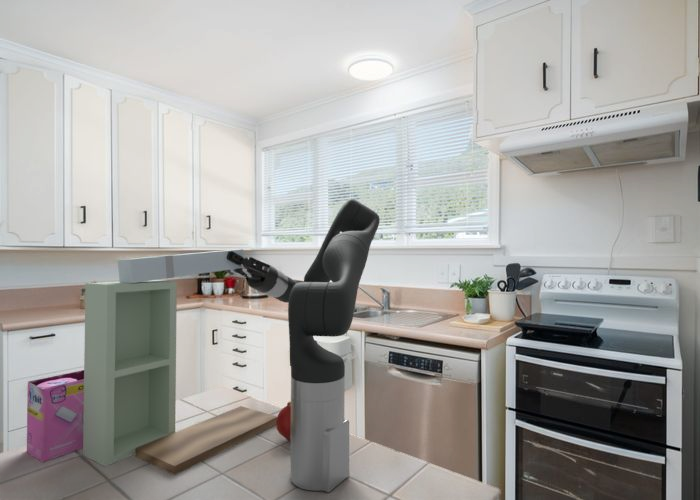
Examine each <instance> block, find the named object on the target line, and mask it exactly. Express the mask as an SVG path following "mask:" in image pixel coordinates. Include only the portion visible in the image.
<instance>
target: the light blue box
mask: <svg viewBox="0 0 700 500" xmlns="http://www.w3.org/2000/svg"><path fill="white" fill-rule="evenodd" d="M229 251H233V252H235V253H237V254H238V255H240V256H244V249H243V248H241V249H240V248H239V249H228V250H227V249H226V250H225V249H224V250H216V251H212V250H211V251H203V252H201V251H200V252H191V253H180V254H168V255H167V254H166V255H153V256H146V257H136V258H122V259H117V265H118V266H117V268H118V282H120V283H137V282H144V281H151V280H165V279H166V280H168V279H173V278H178V277H179V278H180V277H185V276H194V275H200V274H201V275H202V274H208V273H214V272H215V273H216V272H222V271H225V270H230V269H238V268H241V267H240V266H239V265H240V264H239V265H237V264H235V263H233V262H231V261H229V260H227V255H228V252H229Z"/></svg>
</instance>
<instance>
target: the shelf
mask: <svg viewBox="0 0 700 500" xmlns="http://www.w3.org/2000/svg"><path fill="white" fill-rule="evenodd" d="M84 285H85V289H84V290H85V293H84V353H83V354H84V357H83V358H84V359H83V360H84V365H83V366H84V367H83V368H84V369H83V370H84V419H83V448H82V455H83V456H85V457H87V458H89V459H90V460H91V461H93V462H94V461H95V462H96V463H98V464H99V465H102V467H107V466H109V465H113V464H114V463H117V462H119V461H122V460H124V459H126V458H129V457H131V456H135V449H136V448H138V447H140V446H143V445H145V444H148V443H150V442H153V441H155V440H158V439H160V438H163V437H165V436H168V435H170V434H173V433H175V432H176V406H177V405H176V396H177V395H176V394H177V393H176V390H177V386H176V385H177V383H176V382H177V307H178V306H177V304H178V303H177V301H178V300H177V299H178V297H177V296H178V281H177V280H167V279H166V280H165V279H158V280H151V281H144V282H137V283H120V282H119V281H103V282H85V284H84Z"/></svg>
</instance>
